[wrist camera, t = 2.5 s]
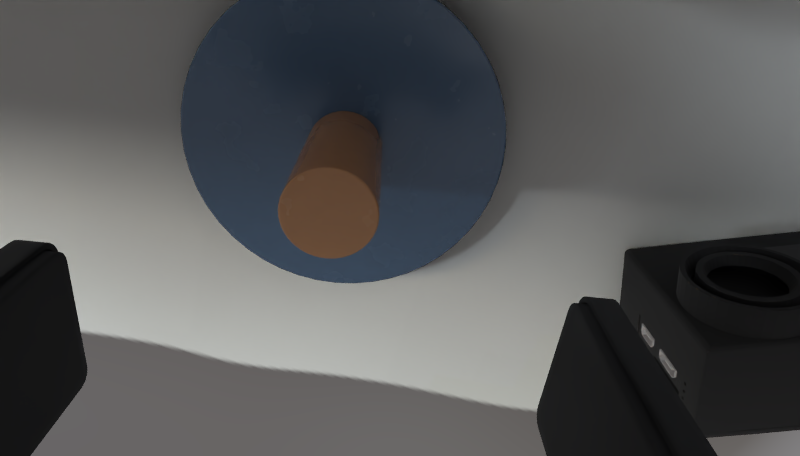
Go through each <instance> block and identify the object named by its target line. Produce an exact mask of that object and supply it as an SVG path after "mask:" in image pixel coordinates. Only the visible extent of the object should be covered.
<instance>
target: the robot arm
mask: <svg viewBox="0 0 800 456" xmlns="http://www.w3.org/2000/svg"><path fill="white" fill-rule="evenodd" d="M86 376H87V363H86V358H85V353H84V348H83V343H82V338H81V332H80V327H79V322H78V316H77V311H76V306H75V301H74V295H73V290H72V285H71V280H70V274H69V269H68V264H67V260H66V257H65V255H64V254H63V253H61V252H58V250H57V248H56V247H55V246H54V245H53V244H51V243H44V242H33V241H23V240H14V241H12V242H10V243H8V244H7V245H5V246H4V247H3V248H1V249H0V456H30V455H31V454H32V453H33V452H34V450H35V449H36V448H37V446H38V445H39V443H40V442H41V441H42V439H43V438H44V437H45V435H46V434H47V433H48V432H49V430H50V429H51V428H52V426H53V425H54V424H55V422H56V421H57V420H58V418H59V417H60V416H61V414H62V413H63V412H64V410H65V409H66V408H67V406H68V405H69V404H70V402H71V401H72V400H73V398H74V397H75V395H76V394H77V393H78V392H79V391H80V389H81V388H82V386H83V384H84V382H85V380H86ZM537 424H538V428H539V432H540V435H541V438H542V442H543V445H544V448H545V451H546V455H547V456H717V454H716V453H715V451H714V449H713V448H712V447H711V445H710V443H709V442H708V440H707V439H706V437H705V436H704V434H703V432H702V431H701V429H700V428H699V426H698V425H697V423H696V422H695V420H694V419H693V417H692V416H691V414H690V412H689V411H688V409H687V408H686V406H685V405H684V403H683V402H682V400H681V399H680V397H679V396H678V394H677V392H676V391H675V389H674V388H673V386H672V385H671V383H670V382H669V380H668V379H667V377H666V376H665V374H664V372H663V371H662V369H661V368H660V366H659V365H658V363H657V362H656V360H655V359H654V357H653V356H652V354H651V352H650V351H649V349H648V348H647V346H646V345H645V343H644V342H643V340H642V339H641V337H640V335H639V334H638V332H637V331H636V329H635V328H634V326H633V325H632V323H631V322H630V320H629V319H628V317H627V315H626V314H625V312H624V311H623V309H622V308H621V306H620V305H619V303H618V302H617V301H616V300H613V299H605V298H595V297H583V298H582V299H581V300H580V301H579V303H573V304H572V305H571V306H570V308H569V310H568V313H567V317H566V320H565V323H564V326H563V329H562V332H561V335H560V339H559V342H558V345H557V348H556V351H555V354H554V358H553V361H552V364H551V367H550V370H549V373H548V377H547V380H546V383H545V386H544V389H543V392H542V396H541V399H540V402H539V405H538V409H537Z"/></svg>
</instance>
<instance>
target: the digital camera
mask: <svg viewBox="0 0 800 456" xmlns="http://www.w3.org/2000/svg"><path fill="white" fill-rule="evenodd" d="M620 306H621V308H622V309H623V311H624V312H625V314H626V315H627V317H628V319H629V320H630V322H631V323H632V325H633V326H634V328H635V329H636V331H637V332H638V334H639V335H640V337H641V339H642V340H643V342H644V343H645V345H646V346H647V348H648V349H649V351H650V352H651V354H652V356H653V357H654V359H655V360H656V362H657V363H658V365H659V366H660V368H661V369H662V371H663V372H664V374H665V376H666V377H667V379H668V380H669V382H670V383H671V385H672V386H673V388H674V389H675V391H676V392H677V394H678V396H679V397H680V399H681V400H682V402H683V403H684V405H685V406H686V408H687V409H688V411H689V412H690V414H691V416H692V417H693V419H694V420H695V422H696V423H697V425H698V426H699V428H700V429H701V431H702V432H703V434H704V436H705V437H706V438H708V437H722V436H734V435H746V434H759V433H769V432H781V431H791V430H800V232H791V233H782V234H772V235H762V236H753V237H743V238H733V239H723V240H714V241H704V242H695V243H685V244H676V245H666V246H657V247H647V248H638V249H629V250H627V251H626V252H625V259H624V269H623V279H622V290H621V300H620Z"/></svg>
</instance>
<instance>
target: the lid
mask: <svg viewBox="0 0 800 456" xmlns="http://www.w3.org/2000/svg"><path fill="white" fill-rule="evenodd" d="M181 133H182V140H183V147H184V152H185V156H186V160H187V163H188V167H189V170H190V173H191V175H192V177H193V180H194V182H195V185H196V187H197V189H198V191H199V193H200V194H201V196H202V198H203V200H204V201H205V203H206V205H207V207H208V208H209V209H210V211H211V212H212V213H213V215H214V216H215V217H216V219H217V220H218V221H219V223H220V224H221V225H222V226H223V227H224V228H225V229H226V230H227V231H228V232H229V233H230V234H231V235H232V236H233V237H234V238H235V239H236V240H238V241H239V242H240V243H241V244H242V245H244V246H245V247H246V248H247V249H248V250H250V251H251V252H253V253H254V254H256V255H258V256H259V257H261V258H262V259H264V260H265V261H267V262H269V263H271V264H273V265H275V266H277V267H279V268H281V269H284V270H286V271H289V272H292V273H294V274H297V275H300V276H304V277H308V278H312V279H315V280H321V281H328V282H335V283H363V282H374V281H379V280H384V279H389V278H393V277H396V276H399V275H402V274H406V273H409V272H411V271H413V270H415V269H418V268H420V267H422V266H424V265H426V264H428V263H429V262H431V261H433V260H434V259H436V258H438V257H440V256H441V255H442V254H444V253H445V252H446V251H448V250H449V249H450V248H451V247H453V246H454V245H455V244H456V243H457V242H458V241H459V240H460V239H461V238H462V237H463V236H464V235H465V234H466V233H467V232H468V231H469V230H470V229H471V228H472V226H473V225H474V224H475V222H476V221H477V220H478V219H479V217H480V216H481V214H482V213H483V211H484V209H485V208H486V206H487V204H488V203H489V201H490V199H491V197H492V194H493V192H494V190H495V187H496V185H497V183H498V179H499V176H500V172H501V169H502V165H503V160H504V153H505V147H506V118H505V110H504V102H503V98H502V95H501V91H500V87H499V83H498V80H497V78H496V75H495V73H494V71H493V68H492V66H491V63H490V61H489V59H488V58H487V56H486V54H485V53H484V51H483V49H482V48H481V46H480V44H479V42H478V41H477V40H476V38H475V37H474V36H473V35H472V33H471V32H470V31H469V30H468V28H467V27H466V26H465V25H464V23H463V22H462V21H461V20H460V19H458V18H457V17H456V16H455V15H454V14H453V13H452V12H451V11H450V10H449V9H448V8H447V7H446V6H444V5H443V4H442V3H440V2H439V1H437V0H239V1H237V2H236V3H235V4H234V5H233V6H231V7H230V8H229V9H228V10H226V12H225V13H224V14H223V15H222V16H221V17H220V18H219V19H218V21H217V22H216V23H215V24H214V25H213V26H212V27H211V29H210V30H209V32H208V33H207V35H206V36H205V38H204V39H203V41H202V42H201V44H200V46H199V47H198V50H197V52H196V54H195V56H194V58H193V61H192V63H191V65H190V68H189V71H188V74H187V78H186V81H185V85H184V90H183V97H182V104H181Z"/></svg>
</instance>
